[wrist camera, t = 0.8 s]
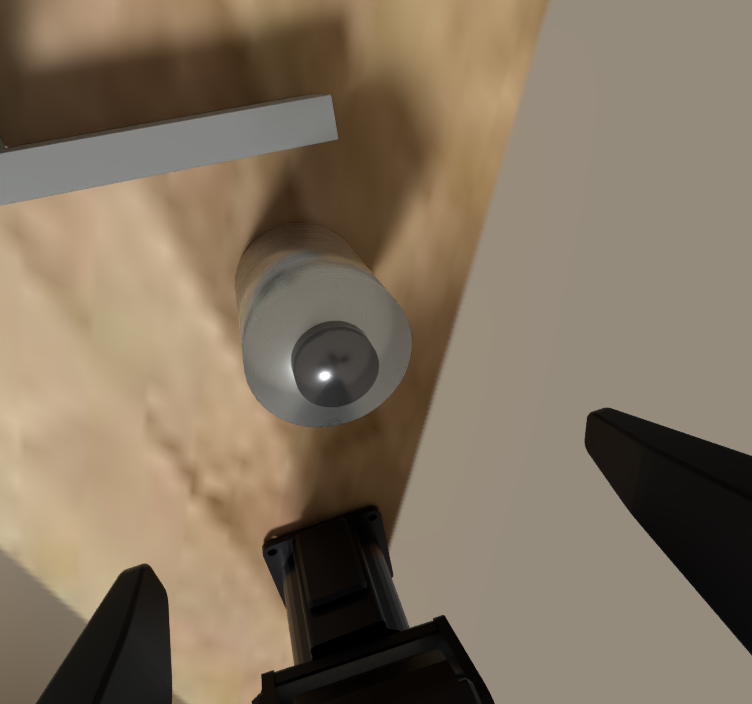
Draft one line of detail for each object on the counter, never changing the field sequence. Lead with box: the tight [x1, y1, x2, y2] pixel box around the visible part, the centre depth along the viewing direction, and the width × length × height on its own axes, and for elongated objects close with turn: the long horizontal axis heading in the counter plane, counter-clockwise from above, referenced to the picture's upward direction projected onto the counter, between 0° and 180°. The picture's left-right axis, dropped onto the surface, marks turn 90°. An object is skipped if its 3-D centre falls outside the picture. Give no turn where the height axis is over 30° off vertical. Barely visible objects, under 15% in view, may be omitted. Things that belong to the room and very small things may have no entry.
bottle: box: [235, 223, 412, 427], centre depth 16 cm, size 5×5×7 cm
